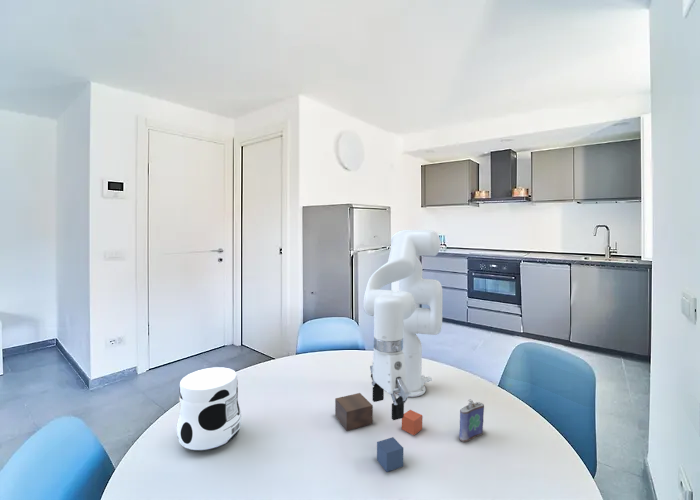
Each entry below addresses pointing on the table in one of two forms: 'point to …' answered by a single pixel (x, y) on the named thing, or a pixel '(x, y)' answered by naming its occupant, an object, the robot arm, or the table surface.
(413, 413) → the terracotta cube
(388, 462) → the blue cube
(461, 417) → the flask
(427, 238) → the robot arm
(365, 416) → the walnut base
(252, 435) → the table surface
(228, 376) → the milk container
